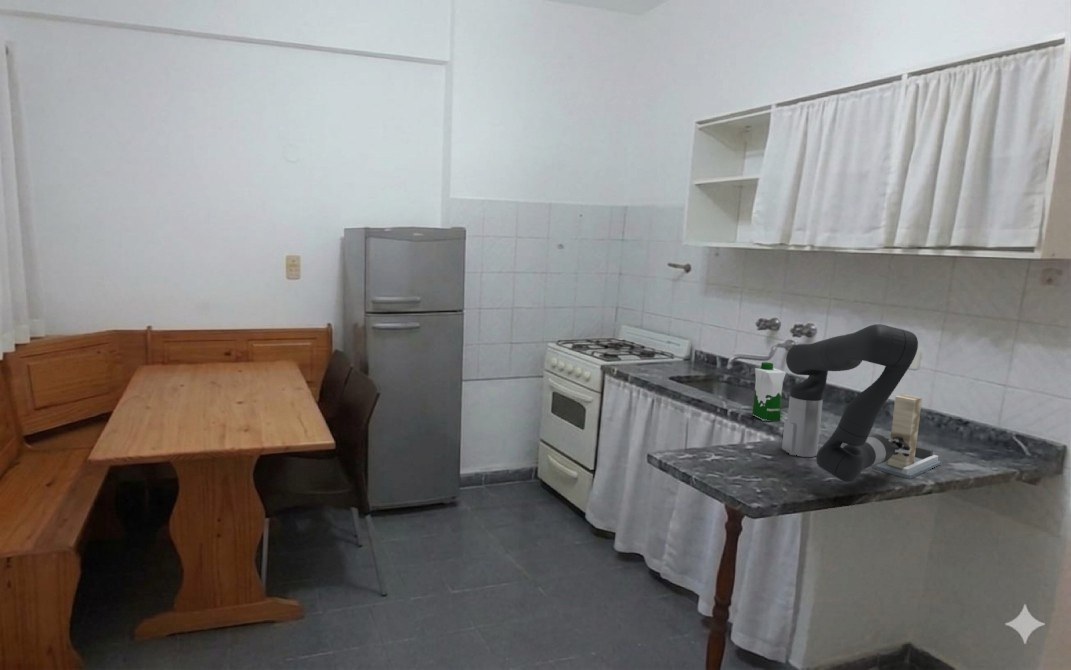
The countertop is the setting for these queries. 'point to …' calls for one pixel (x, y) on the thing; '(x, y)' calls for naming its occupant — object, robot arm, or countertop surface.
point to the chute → (921, 464)
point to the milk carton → (768, 392)
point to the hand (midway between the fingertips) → (899, 440)
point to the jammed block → (905, 427)
